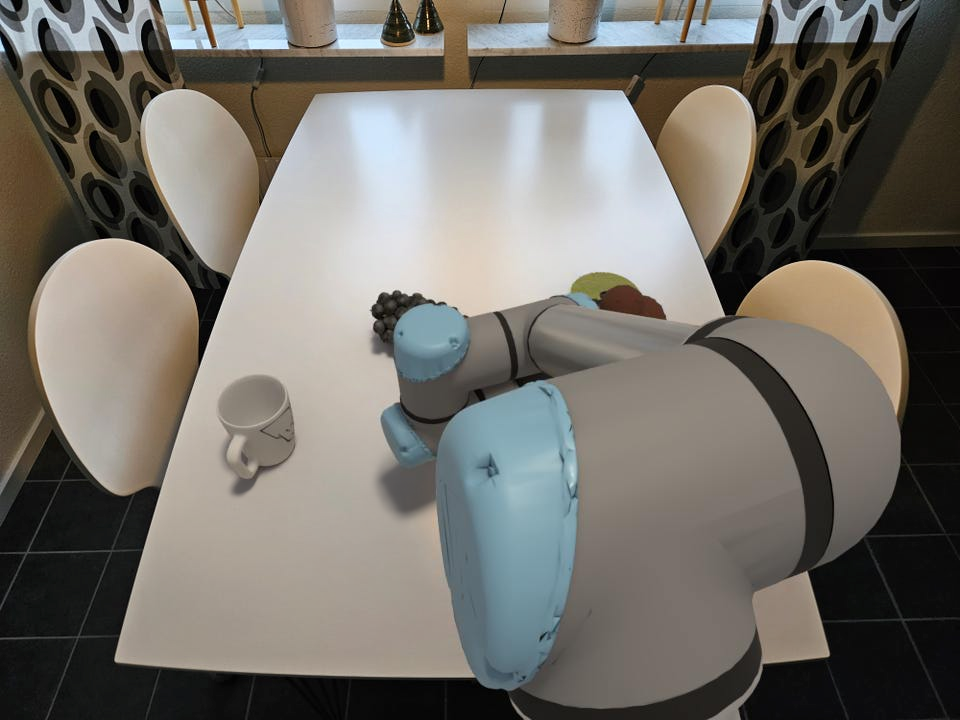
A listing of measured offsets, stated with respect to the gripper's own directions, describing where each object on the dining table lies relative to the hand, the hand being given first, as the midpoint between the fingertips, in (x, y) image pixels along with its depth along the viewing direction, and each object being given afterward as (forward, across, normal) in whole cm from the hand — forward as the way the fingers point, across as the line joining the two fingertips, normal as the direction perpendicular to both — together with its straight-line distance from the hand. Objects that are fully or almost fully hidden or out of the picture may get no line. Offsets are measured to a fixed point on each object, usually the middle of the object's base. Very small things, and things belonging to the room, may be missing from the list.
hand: (649, 325), depth 85 cm
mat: (+6, -15, -11) cm, 20 cm away
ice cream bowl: (-4, 0, -8) cm, 9 cm away
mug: (-50, -14, -11) cm, 53 cm away
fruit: (-23, -23, -11) cm, 34 cm away
